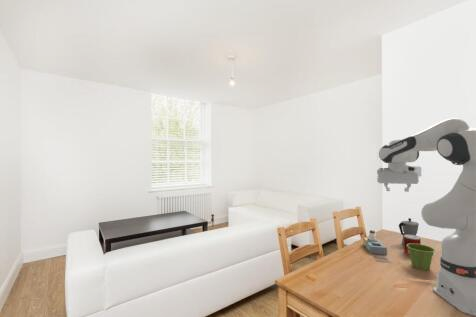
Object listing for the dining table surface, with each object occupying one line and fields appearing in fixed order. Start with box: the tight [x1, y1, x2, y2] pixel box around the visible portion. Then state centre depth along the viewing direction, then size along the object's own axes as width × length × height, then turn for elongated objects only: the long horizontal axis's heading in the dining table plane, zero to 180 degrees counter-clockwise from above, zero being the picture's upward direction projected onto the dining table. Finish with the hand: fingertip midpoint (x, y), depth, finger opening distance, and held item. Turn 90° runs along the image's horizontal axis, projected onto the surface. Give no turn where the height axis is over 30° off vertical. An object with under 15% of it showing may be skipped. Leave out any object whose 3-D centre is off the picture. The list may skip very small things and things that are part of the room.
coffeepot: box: [398, 217, 420, 246], centre depth 153 cm, size 15×9×18 cm, turn 103°
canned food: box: [403, 235, 422, 256], centre depth 138 cm, size 8×8×11 cm
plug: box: [368, 229, 377, 242], centre depth 149 cm, size 4×4×10 cm
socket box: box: [362, 237, 388, 255], centre depth 145 cm, size 16×9×5 cm, turn 165°
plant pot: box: [407, 243, 436, 271], centre depth 121 cm, size 12×12×11 cm
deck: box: [370, 253, 391, 264], centre depth 131 cm, size 10×7×1 cm
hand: (397, 191), depth 134 cm, fingers open, 8 cm apart
